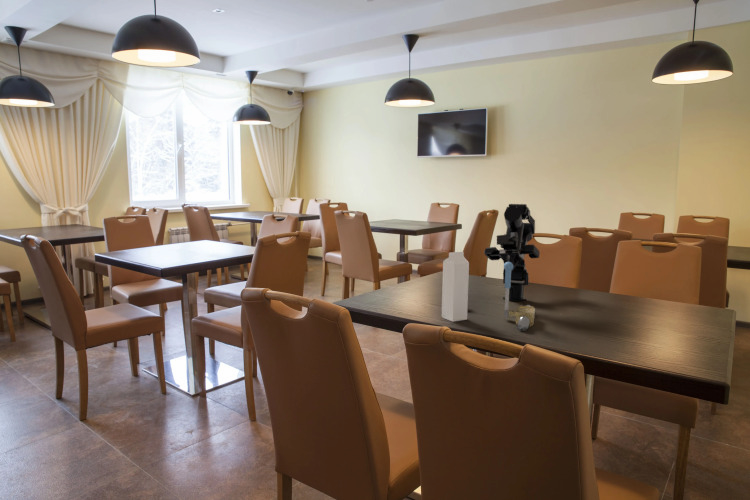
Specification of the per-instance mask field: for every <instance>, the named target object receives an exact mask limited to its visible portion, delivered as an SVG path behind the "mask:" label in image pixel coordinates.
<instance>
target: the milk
mask: <svg viewBox="0 0 750 500" xmlns="http://www.w3.org/2000/svg"><path fill="white" fill-rule="evenodd" d="M464 255H465V254H464V251H452V252H449V253H448V257H447V258H445V259H444V260H443V261H442V265H443V266H442V285H441V286H442V291H441V294H442V295H441V318H442V319H445V320H447V321H450V322H460V321H465V320H468V303H469V297H468V296H469V275H470V274H469V273H470V271H469V270H470V262H469V261H468V259H466V257H465V256H464Z"/></svg>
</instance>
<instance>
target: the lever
mask: <svg viewBox="0 0 750 500" xmlns="http://www.w3.org/2000/svg"><path fill="white" fill-rule="evenodd" d="M504 269H505V284H504V289H505V293H504V294H505V295H504V297H505V299H504V313H503V315H504V317H503V318H508V317H509V303H510V300H509V288H510V286H511V270H512V269H513V264H512V263H511V262H506V263H505V264H504V263H503V270H504Z"/></svg>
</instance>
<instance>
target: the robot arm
mask: <svg viewBox="0 0 750 500" xmlns="http://www.w3.org/2000/svg"><path fill="white" fill-rule="evenodd" d="M527 205H528V204H526V203H508V206H507V207H506V208H505V210H504V213H503V216H504V220H505V225H506V232H505V233H504V234H500V235H499V234H498V235H496V245H498V246H499V245H500V248H501V249H498V248H497V247H496V246H490V247H485V249H484V251H483V255H484V256H486V257H487V258H488V259H489V260H490V261H499V260H502V261H503V265H504V264H505V263H506V262H511V263H512V264H513V269H512V270H511V286H510V288H509V301H512V302H515V303H516V302H522V301H526V300H527V298H526V297H524V291H525V290H524V287H525V286H529V285H530V284H529V283H530V282H529V276H530V275H529V272H528V270H527V269H526V263H525V255H528V257H529V258H530V259H539V258H540V250H539V248H537V246H536V245H535V244H534V243H531V244H528V243H529V242H530V241H531V240H532V239H533V236H534V235H535V234H536V220H535V219H534V218H533V216H532V215H531V210H530V208H529V207H528V206H527ZM526 220H527V222H523V221H526ZM502 272H503V273H502V283H503V284H504V285H505V269H504V268H503V271H502ZM502 299H503V300H505V296H503V297H502Z"/></svg>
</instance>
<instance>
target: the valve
mask: <svg viewBox="0 0 750 500" xmlns="http://www.w3.org/2000/svg"><path fill="white" fill-rule="evenodd" d="M535 312H536V308H535V307H534V306H531V305H530V304H525V305H522V304H521V305H520V306H518V307H517V308H516V310H513V309H512V310H509V309H508V317H515V325H516V328H517V329H518V330H519V331H520V332H526V331H528V329H529V328H530V327H532V326H534V323H535V314H536V313H535Z"/></svg>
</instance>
